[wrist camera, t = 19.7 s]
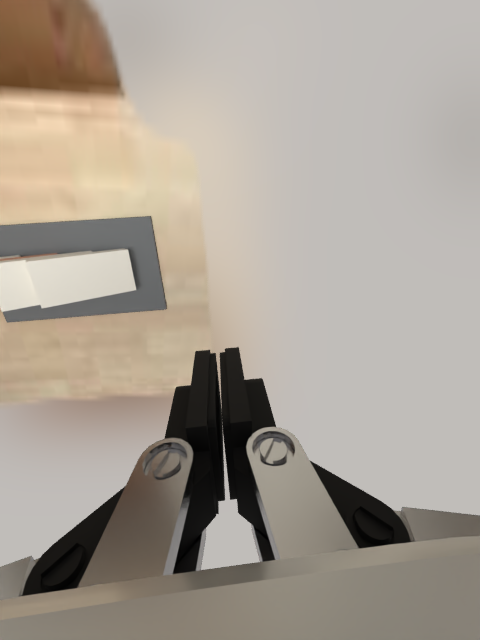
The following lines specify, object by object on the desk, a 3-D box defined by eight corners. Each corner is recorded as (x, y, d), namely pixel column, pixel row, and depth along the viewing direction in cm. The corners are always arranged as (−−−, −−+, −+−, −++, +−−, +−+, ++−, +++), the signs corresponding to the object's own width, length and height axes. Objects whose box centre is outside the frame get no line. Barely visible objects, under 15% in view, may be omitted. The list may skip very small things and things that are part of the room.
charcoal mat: (166, 308, 37) (166, 309, 37) (9, 321, 36) (6, 322, 36) (150, 216, 33) (150, 216, 32) (-31, 227, 32) (-33, 227, 31)
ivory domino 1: (92, 252, 32) (-18, 265, 27) (103, 292, 34) (2, 312, 29) (90, 250, 33) (-15, 262, 28) (100, 289, 35) (4, 307, 30)
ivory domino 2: (128, 249, 32) (25, 261, 27) (136, 290, 34) (41, 308, 29) (124, 248, 34) (26, 259, 29) (132, 287, 36) (41, 304, 30)
